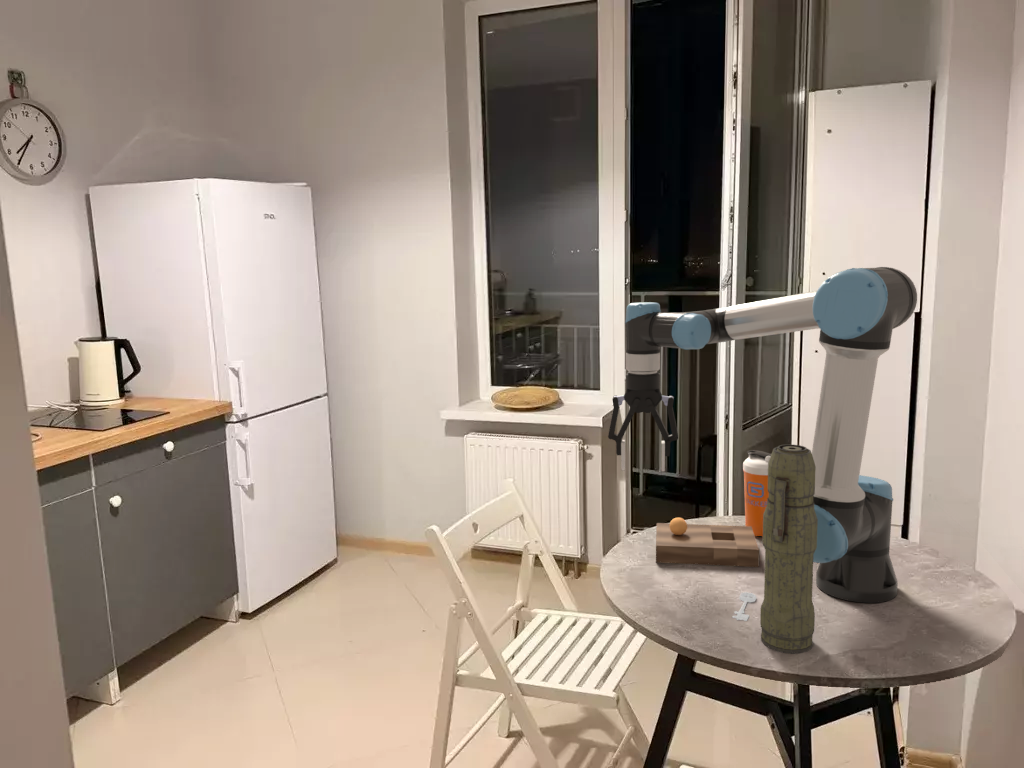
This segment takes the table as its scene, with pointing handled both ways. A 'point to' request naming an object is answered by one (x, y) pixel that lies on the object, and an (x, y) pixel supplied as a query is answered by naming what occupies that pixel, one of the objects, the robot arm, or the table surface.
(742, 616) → the key
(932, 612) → the table surface
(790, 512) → the thermos
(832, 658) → the table surface
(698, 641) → the table surface
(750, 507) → the shaker bottle
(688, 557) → the board
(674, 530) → the ball
